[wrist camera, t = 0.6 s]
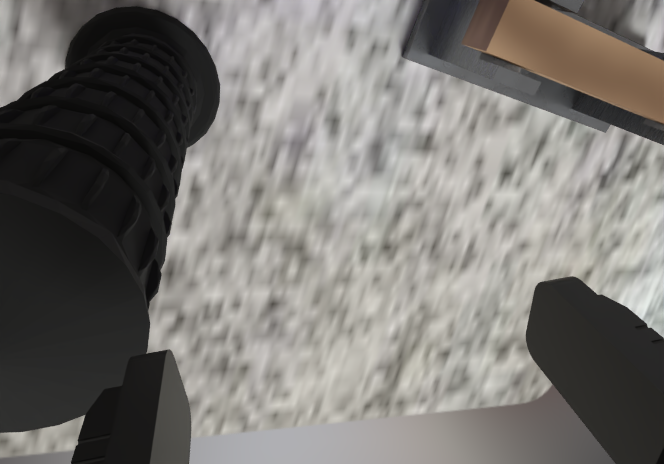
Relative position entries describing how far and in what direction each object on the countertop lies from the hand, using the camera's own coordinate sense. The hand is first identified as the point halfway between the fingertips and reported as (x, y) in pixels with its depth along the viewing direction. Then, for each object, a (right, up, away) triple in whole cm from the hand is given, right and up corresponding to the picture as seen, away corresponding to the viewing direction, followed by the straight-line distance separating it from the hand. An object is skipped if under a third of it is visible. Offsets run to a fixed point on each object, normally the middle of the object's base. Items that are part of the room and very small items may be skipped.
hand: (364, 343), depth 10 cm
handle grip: (-14, +13, +22) cm, 29 cm away
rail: (+17, +13, +20) cm, 29 cm away
